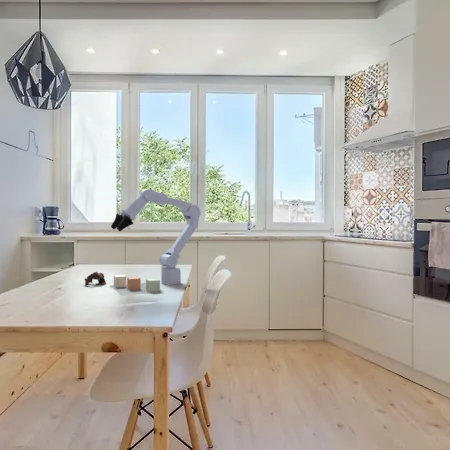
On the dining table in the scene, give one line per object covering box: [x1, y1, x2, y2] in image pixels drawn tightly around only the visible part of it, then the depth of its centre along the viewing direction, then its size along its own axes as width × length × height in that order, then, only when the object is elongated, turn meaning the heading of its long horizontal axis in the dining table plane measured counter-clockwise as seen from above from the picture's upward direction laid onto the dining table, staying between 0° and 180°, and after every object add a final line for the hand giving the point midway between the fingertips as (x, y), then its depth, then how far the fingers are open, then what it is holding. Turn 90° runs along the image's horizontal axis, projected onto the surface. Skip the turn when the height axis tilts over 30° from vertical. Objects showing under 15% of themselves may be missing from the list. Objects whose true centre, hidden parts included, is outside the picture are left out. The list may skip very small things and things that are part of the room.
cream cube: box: [113, 274, 127, 288], centre depth 183 cm, size 5×5×5 cm
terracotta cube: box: [126, 276, 142, 290], centre depth 177 cm, size 5×5×5 cm
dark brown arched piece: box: [84, 271, 107, 286], centre depth 189 cm, size 12×10×8 cm
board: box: [110, 282, 165, 296], centre depth 177 cm, size 19×26×1 cm
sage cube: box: [145, 278, 161, 293], centre depth 172 cm, size 5×5×5 cm
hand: (115, 229), depth 178 cm, fingers open, 7 cm apart
